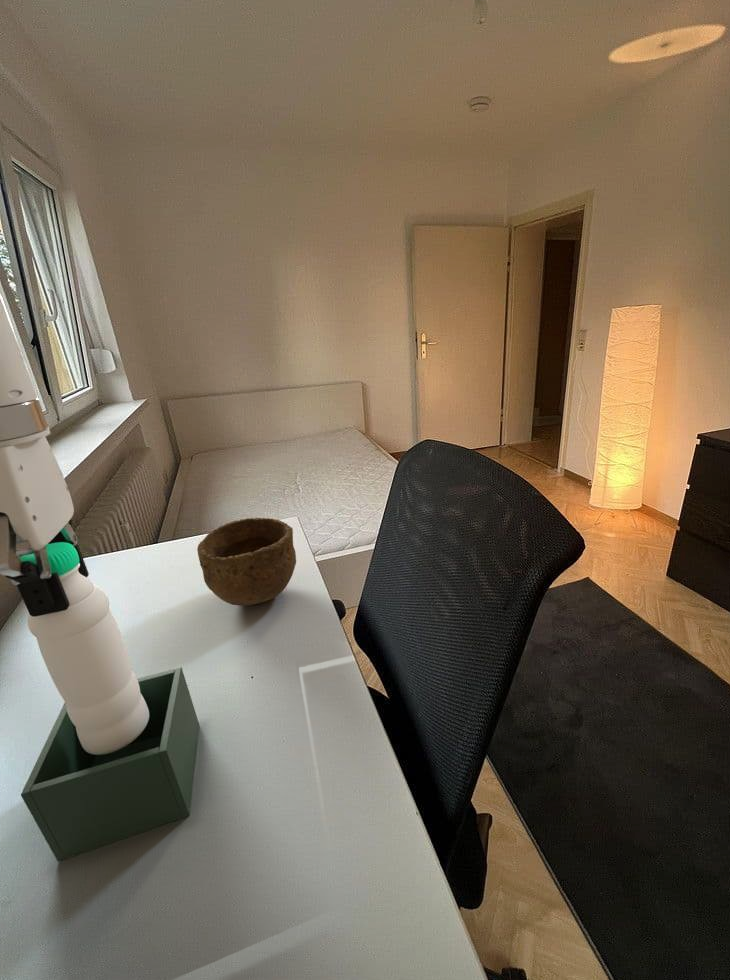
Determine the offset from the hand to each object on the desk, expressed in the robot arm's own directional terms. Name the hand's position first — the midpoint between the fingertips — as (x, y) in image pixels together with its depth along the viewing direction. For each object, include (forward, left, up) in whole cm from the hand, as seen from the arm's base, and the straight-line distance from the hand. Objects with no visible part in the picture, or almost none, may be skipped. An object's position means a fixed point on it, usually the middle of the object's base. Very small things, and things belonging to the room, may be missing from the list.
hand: (61, 593), depth 46 cm
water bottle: (0, 0, -20) cm, 20 cm away
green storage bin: (0, 0, -29) cm, 29 cm away
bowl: (+16, +38, -29) cm, 51 cm away
